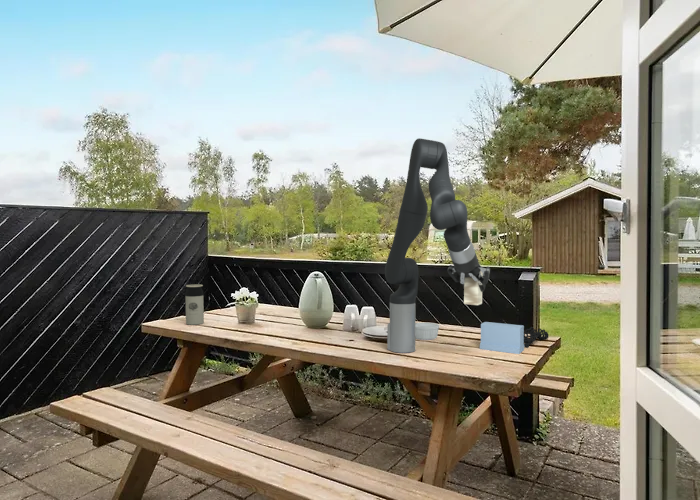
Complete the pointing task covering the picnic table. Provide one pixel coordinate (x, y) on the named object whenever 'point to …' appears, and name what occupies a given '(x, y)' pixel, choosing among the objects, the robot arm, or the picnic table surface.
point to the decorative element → (534, 336)
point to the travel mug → (194, 304)
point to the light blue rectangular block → (502, 337)
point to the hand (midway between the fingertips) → (475, 289)
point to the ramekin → (426, 331)
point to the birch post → (472, 292)
